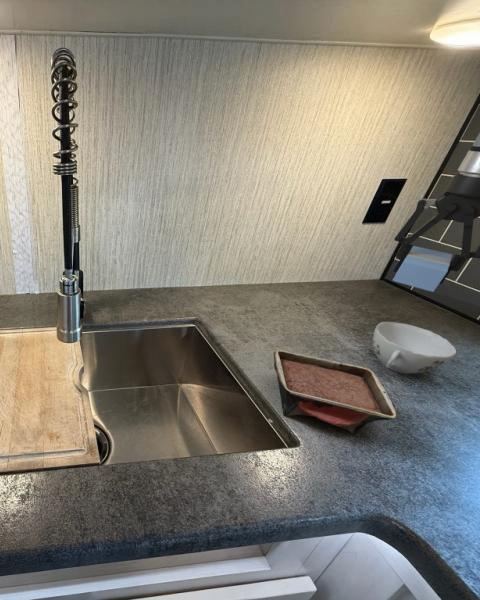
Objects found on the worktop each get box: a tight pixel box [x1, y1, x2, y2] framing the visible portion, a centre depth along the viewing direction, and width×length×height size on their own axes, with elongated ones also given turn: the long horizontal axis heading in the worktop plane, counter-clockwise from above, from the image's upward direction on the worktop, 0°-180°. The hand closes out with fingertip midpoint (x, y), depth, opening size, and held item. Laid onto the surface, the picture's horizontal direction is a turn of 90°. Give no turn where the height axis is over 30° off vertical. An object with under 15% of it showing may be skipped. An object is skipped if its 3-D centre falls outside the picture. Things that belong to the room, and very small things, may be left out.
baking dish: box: [273, 349, 398, 436], centre depth 59 cm, size 14×18×10 cm
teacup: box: [372, 321, 457, 375], centre depth 68 cm, size 15×12×8 cm
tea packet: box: [392, 245, 453, 293], centre depth 74 cm, size 15×7×5 cm, turn 131°
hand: (417, 275), depth 75 cm, fingers closed on tea packet, 7 cm apart
